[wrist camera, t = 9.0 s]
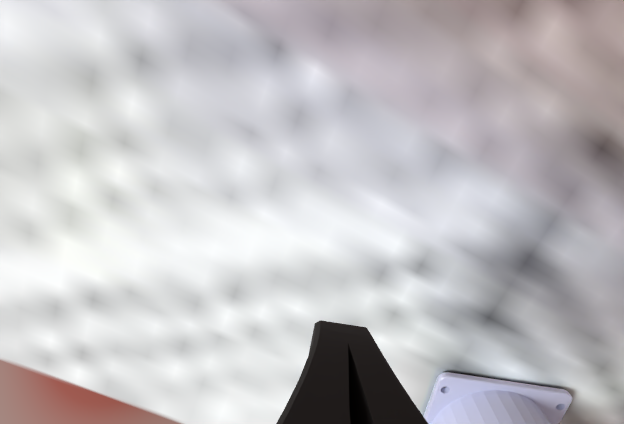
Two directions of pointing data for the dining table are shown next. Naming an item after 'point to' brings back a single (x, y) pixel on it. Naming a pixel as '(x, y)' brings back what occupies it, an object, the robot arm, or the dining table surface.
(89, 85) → the dining table surface
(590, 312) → the dining table surface
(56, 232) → the dining table surface
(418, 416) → the robot arm
